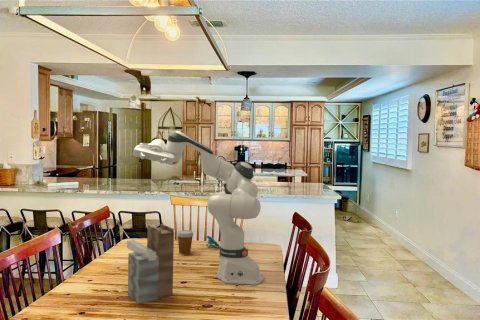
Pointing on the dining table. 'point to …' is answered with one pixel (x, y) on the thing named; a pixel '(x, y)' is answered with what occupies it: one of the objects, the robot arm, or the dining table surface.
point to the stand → (153, 267)
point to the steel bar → (141, 250)
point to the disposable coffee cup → (185, 241)
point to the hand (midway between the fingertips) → (152, 159)
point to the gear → (212, 242)
